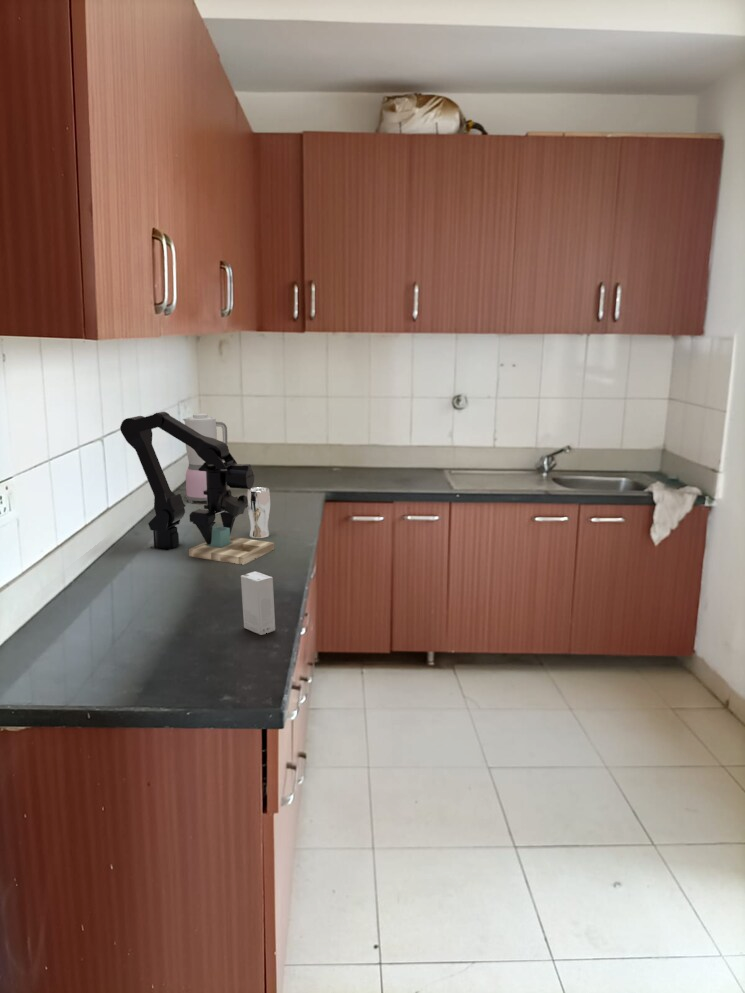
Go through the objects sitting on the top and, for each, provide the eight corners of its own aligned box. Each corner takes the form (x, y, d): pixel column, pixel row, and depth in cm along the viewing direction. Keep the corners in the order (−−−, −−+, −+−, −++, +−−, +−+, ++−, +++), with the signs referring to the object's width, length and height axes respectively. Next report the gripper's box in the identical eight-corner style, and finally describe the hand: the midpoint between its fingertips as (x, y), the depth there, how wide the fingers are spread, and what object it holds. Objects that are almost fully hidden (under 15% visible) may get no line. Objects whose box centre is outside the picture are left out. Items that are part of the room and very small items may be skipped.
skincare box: (276, 630, 161) (275, 576, 158) (259, 636, 157) (258, 581, 155) (258, 622, 165) (256, 570, 162) (241, 628, 162) (240, 574, 159)
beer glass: (249, 540, 228) (248, 492, 224) (246, 534, 234) (245, 487, 231) (272, 539, 229) (271, 491, 226) (269, 533, 236) (268, 486, 233)
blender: (186, 505, 272) (182, 416, 264) (185, 497, 283) (181, 412, 276) (231, 502, 276) (228, 415, 269) (227, 495, 287) (225, 412, 280)
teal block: (208, 551, 214) (207, 529, 213) (217, 547, 218) (216, 526, 217) (221, 553, 212) (220, 531, 211) (230, 549, 216) (229, 527, 215)
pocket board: (189, 557, 210) (188, 549, 209) (222, 543, 224) (222, 535, 224) (243, 566, 203) (243, 557, 202) (274, 551, 217) (274, 542, 217)
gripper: (221, 496, 200) (223, 552, 203) (259, 483, 216) (260, 535, 220) (187, 492, 204) (189, 547, 207) (226, 480, 221) (228, 531, 224)
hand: (218, 540), depth 215 cm, fingers open, 9 cm apart
